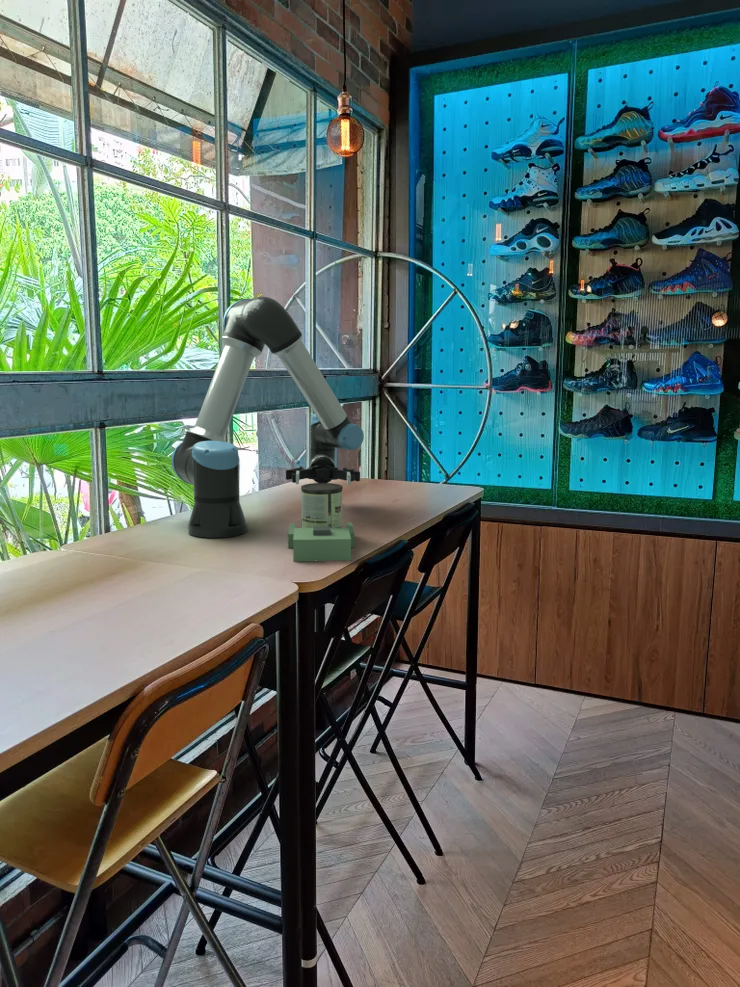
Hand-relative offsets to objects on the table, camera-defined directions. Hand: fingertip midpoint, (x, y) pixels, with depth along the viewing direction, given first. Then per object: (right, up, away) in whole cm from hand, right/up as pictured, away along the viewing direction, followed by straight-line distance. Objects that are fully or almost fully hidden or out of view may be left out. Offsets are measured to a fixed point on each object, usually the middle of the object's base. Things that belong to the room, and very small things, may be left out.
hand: (323, 479), depth 194 cm
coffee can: (0, -16, -8) cm, 18 cm away
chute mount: (0, -17, -15) cm, 23 cm away
